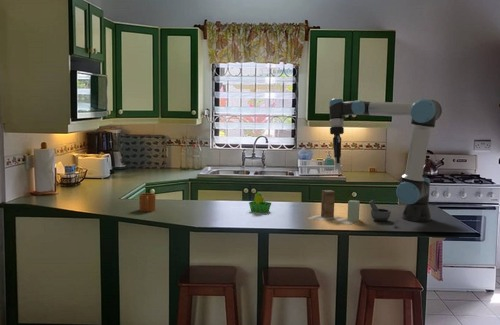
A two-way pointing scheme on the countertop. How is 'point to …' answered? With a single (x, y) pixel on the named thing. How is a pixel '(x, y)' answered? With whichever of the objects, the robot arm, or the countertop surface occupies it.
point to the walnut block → (327, 204)
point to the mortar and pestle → (379, 213)
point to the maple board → (333, 219)
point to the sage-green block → (353, 210)
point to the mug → (147, 202)
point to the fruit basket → (259, 204)
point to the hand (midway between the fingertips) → (337, 169)
